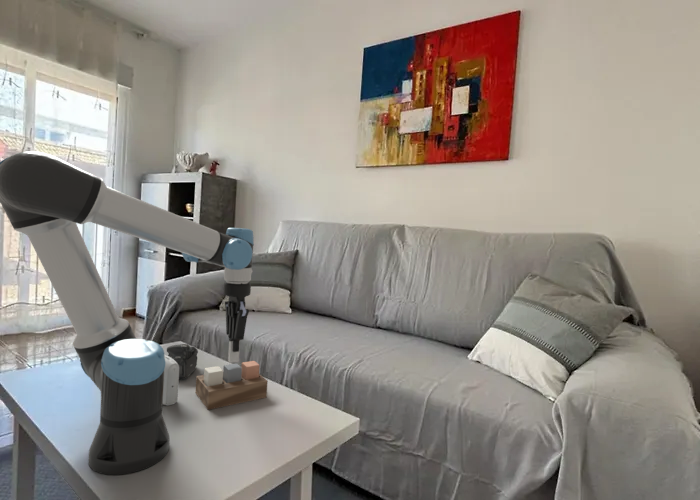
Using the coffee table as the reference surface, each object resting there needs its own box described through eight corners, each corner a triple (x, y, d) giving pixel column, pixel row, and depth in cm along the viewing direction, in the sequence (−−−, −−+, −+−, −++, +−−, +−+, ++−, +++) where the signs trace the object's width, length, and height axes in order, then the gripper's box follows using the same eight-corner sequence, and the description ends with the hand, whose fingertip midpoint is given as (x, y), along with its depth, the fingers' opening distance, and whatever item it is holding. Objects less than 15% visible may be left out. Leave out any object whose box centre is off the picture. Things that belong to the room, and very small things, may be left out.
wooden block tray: (266, 397, 117) (267, 380, 117) (207, 409, 107) (208, 391, 107) (250, 382, 127) (251, 367, 126) (195, 392, 116) (196, 376, 116)
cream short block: (222, 387, 113) (223, 370, 113) (207, 390, 110) (208, 373, 110) (217, 382, 116) (218, 366, 116) (203, 385, 114) (204, 368, 113)
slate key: (240, 384, 116) (241, 367, 116) (227, 386, 114) (228, 369, 113) (235, 379, 119) (236, 363, 119) (222, 381, 117) (223, 365, 117)
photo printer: (180, 402, 110) (182, 358, 109) (165, 407, 107) (167, 362, 106) (159, 391, 116) (161, 349, 115) (144, 396, 112) (146, 353, 111)
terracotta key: (258, 381, 119) (259, 364, 119) (245, 383, 117) (246, 366, 117) (253, 376, 123) (254, 360, 122) (240, 378, 120) (241, 362, 120)
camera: (165, 367, 134) (166, 338, 133) (196, 365, 138) (198, 337, 137) (164, 382, 122) (165, 351, 121) (198, 380, 126) (200, 349, 125)
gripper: (259, 284, 112) (254, 366, 113) (241, 277, 122) (237, 352, 124) (233, 285, 107) (228, 371, 109) (217, 278, 118) (213, 356, 119)
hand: (233, 361), depth 116 cm, fingers closed
